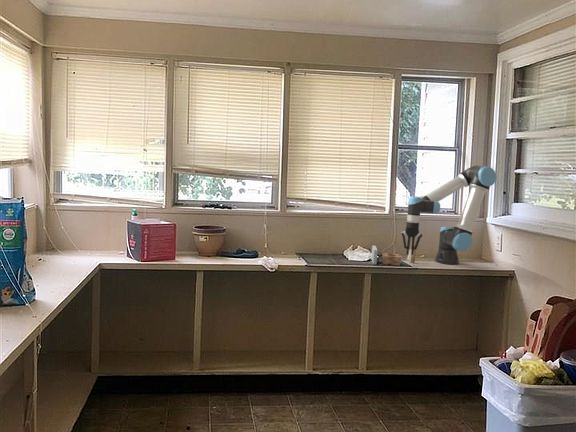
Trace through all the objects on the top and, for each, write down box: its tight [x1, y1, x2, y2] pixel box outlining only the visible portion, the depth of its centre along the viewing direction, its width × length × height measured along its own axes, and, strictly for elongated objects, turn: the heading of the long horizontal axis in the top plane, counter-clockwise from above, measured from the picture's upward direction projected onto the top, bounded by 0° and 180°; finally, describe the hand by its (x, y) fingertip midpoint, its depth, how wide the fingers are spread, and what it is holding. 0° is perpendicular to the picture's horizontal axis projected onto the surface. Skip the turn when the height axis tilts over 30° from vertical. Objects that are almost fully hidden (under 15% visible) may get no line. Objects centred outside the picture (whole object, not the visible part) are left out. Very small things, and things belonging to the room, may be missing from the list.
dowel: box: [408, 241, 417, 264], centre depth 378 cm, size 3×3×13 cm
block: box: [381, 252, 402, 266], centre depth 371 cm, size 10×10×5 cm
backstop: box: [370, 245, 379, 266], centre depth 371 cm, size 2×16×9 cm, turn 177°
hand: (409, 260), depth 370 cm, fingers closed
